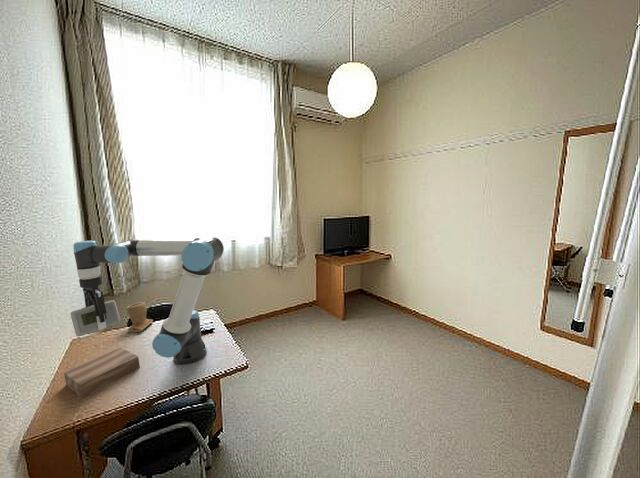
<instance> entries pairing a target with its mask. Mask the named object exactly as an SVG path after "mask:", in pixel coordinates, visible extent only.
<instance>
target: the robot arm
mask: <svg viewBox="0 0 640 478" xmlns="http://www.w3.org/2000/svg"><path fill="white" fill-rule="evenodd" d="M224 249H225V248H224V244H223V241H221V239H219V238H218V237H216V236H213V235H207V236H195V237H194V238H191V239H190V238H184V239H180V238H179V239H178V238H177V239H140V238H132V239H128V240H123V241H121V242H117V243H112V244H108V245H98V244H97V242H96V241H95V240H82V241H81V240H80V241H76V242H74V244H73V254H74V260H75V265H76V271H77V277H78V282H79V287H80V288H82V292H83V296H84V306H85V307H88V306H92V305H94V307H95V310H96V313H97V315H96V316H95V317H96V318H97V324H98V330H99V331H102V330H105V329H107V327H106V321H105V315H104V314H106V313H107V312H106V308H105V303H104V302H105V299H104V292H103V291H101V290H100V288H99V286H101V285H102V284H103V278H102V275H101V274H102V272H101V270H102V267H101V266H100V264H121V263H122V264H123V263H125V261H127V259H128V258H130V257H161V256H163V257H165V256H171V257H173V256H180V258H181V259H180V260H181V262H182V264H181V269H182V270H183V273H182V277H181V281H180V282H179V286H178V289H177V292H176V295H175V297H174V300H173V303H172V307H171V309H170V312H169V313H170V314H169V316H168V318H166V319H164V320H163V322H162V324H161V327H160V330H159V332H158V334H156V335H155V336H154V338H153V339H152V343H151V346H152V350H154V352H155V353H156V355H159V356H160V357H162V358H173V362H174V363H176V364H178V365H187V364H192V363H195V362H198V361H200V360H201V359H203V358H204V357H205V356H206V354H207V346H206V344H205V342H204V340H203V339H202V332H201V331H202V330H201V318H200V313H199V311H197V310H195V306H196V304H197V301H198V298H199V295H200V292H201V290H202V287H203V283H204V281H205V279H206V277H207V276H209V275H210V274H211V272H212V270H213V266H214V265H215V262H217V261H218V260H219V259H220V258H222V256H223V253H224V252H225V251H224ZM104 328H105V329H104Z"/></svg>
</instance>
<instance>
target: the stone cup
mask: <svg viewBox="0 0 640 478" xmlns="http://www.w3.org/2000/svg"><path fill="white" fill-rule="evenodd" d="M147 311H148V309H147V306H146V303H145V302H144V301H140V302H136V303H135V302H134V303H133V304H130V305H128V306H127V307H126V313H127V314H128V317H129V318H130V321H131V323H132V325H131V326H129V328H127V331H129V332H131V333H139V332H142V331H144V329H146V328H147V327H148V326H149V325H151V324H152V322H154V320H153V319H152V318H147Z"/></svg>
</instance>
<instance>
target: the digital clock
mask: <svg viewBox="0 0 640 478" xmlns="http://www.w3.org/2000/svg"><path fill="white" fill-rule="evenodd" d="M104 303H105V308H106V312H107V313H106V314H104V315H105V321H106V327H107V328H108V329H109V328H111V327H113V326H114V325H118V324H120V323H121V317H120V313H119V310H118V306H117V303H116V300H114V299H113V300H112V299H111V300H108V301H104ZM96 315H97V313H96V310H95V307H94V305H92V306H88V307H86V306H85V307H81V308H79V309H76V310H73V311H71V312H70V317H71V318H70V319H71V321H72V325H73V329H74V333H75V335H76V337H78V338H79V337H82V336H85V335H90V334H93V333H95V332H99V331H100V330H98V324H97V318H96V317H95V316H96ZM107 328H104V329H103V330H105V329H107Z"/></svg>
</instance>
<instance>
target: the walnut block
mask: <svg viewBox="0 0 640 478" xmlns="http://www.w3.org/2000/svg"><path fill="white" fill-rule="evenodd" d="M140 368H141V366H140V360H139V356H138V355H136V354H134V353H133V352H131V351H128V350H126V349H125V348H123V347H119V348H116V349H115V350H112V351H110V352H107V353H105V354H103V355H100V356H99V357H97V358H94V359H92V360H88V361H87V362H84V363H83V364H80V365H78V366H76V367H73V368H72V369H69V370H67V371H64V372H63V376H64V381H65V384H66V385H65V386H67V388H69V389H71V391H73V392H74V393H75V394H77V395H78V396H79V397H80V398H82V399H84V398H86V397H87V396H90V395H92V394H93V393H95V392H98V391H99V390H101V389H103V388H105V387H107V386H108V385H111V384H112V383H115V382H116V381H118V380H120V379H122V378H124V377H126V376H128V375H129V374H131V373H133V372H135V371H137V370H139V369H140Z"/></svg>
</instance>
